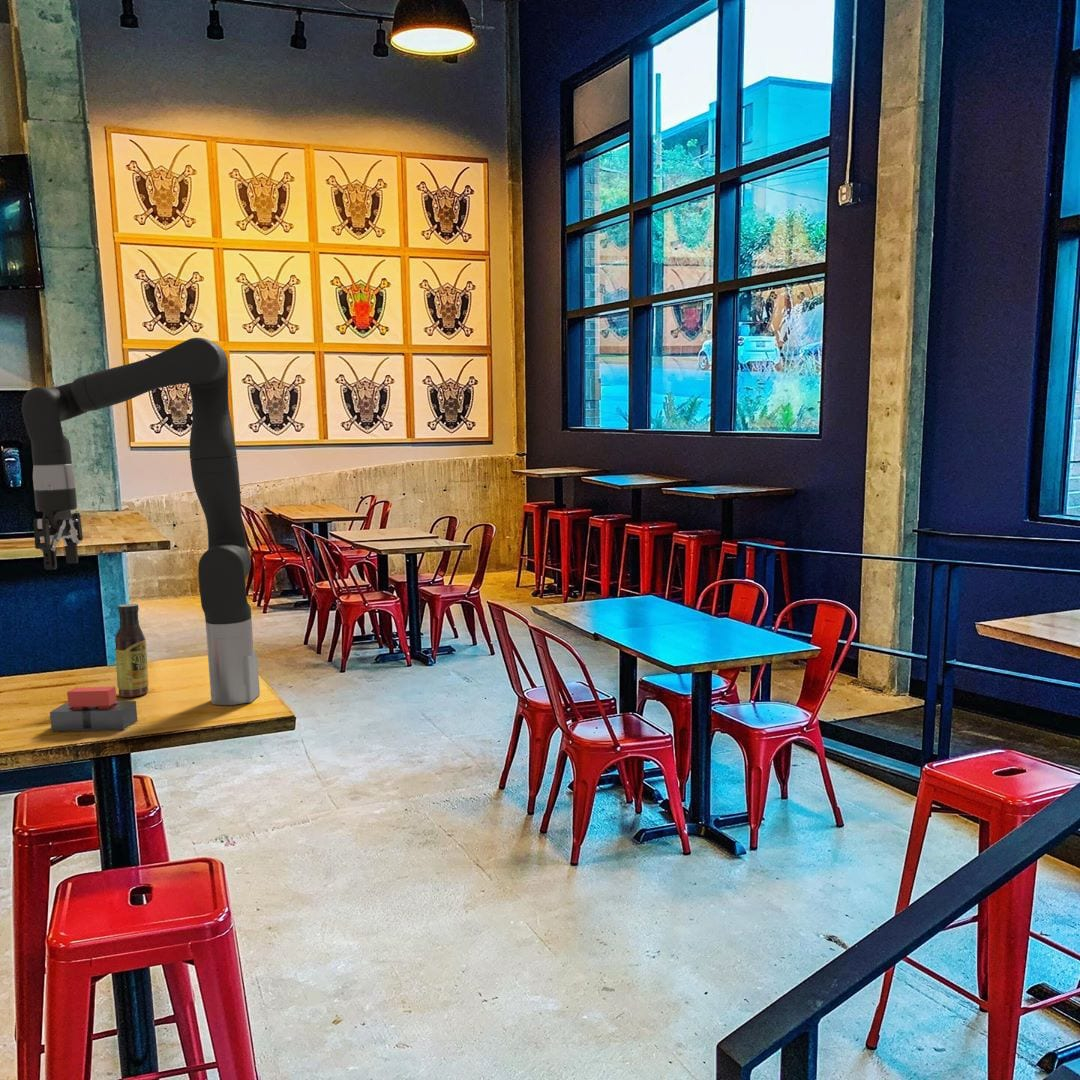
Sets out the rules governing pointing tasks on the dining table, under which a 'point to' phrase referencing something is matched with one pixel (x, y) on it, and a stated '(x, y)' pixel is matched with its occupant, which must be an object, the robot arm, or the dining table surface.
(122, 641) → the sauce bottle
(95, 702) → the red block
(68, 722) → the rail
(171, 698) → the dining table surface
